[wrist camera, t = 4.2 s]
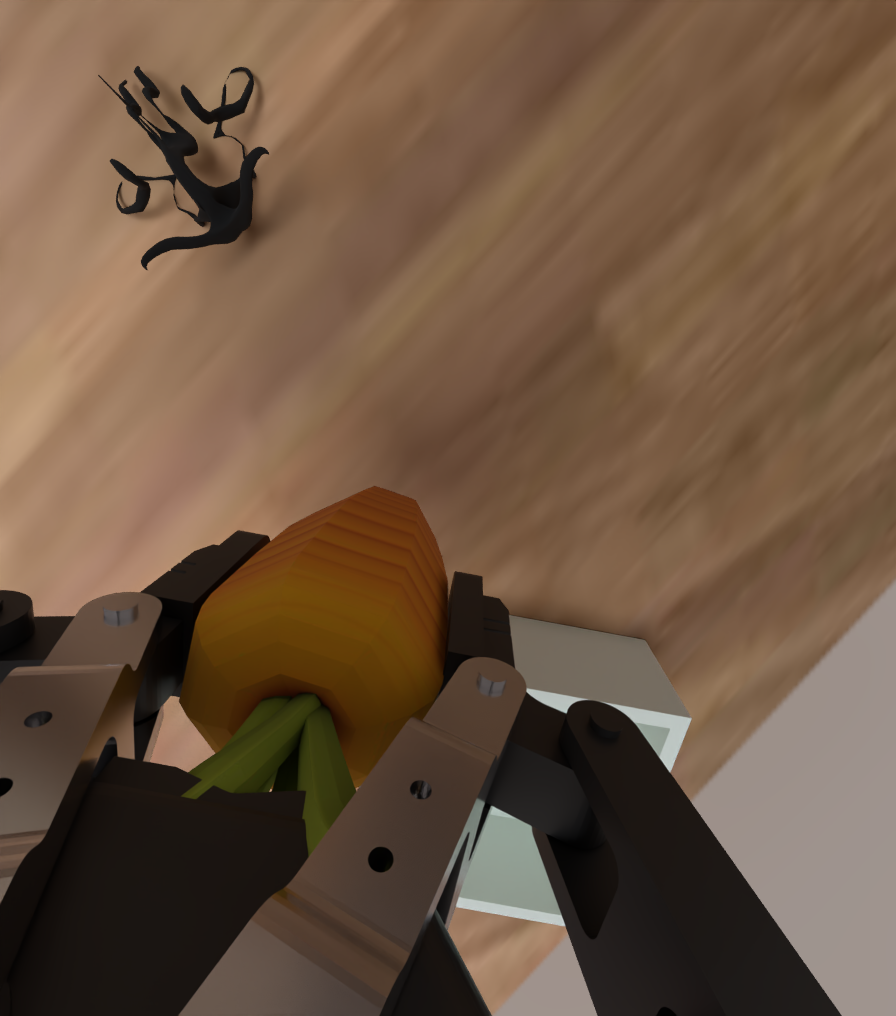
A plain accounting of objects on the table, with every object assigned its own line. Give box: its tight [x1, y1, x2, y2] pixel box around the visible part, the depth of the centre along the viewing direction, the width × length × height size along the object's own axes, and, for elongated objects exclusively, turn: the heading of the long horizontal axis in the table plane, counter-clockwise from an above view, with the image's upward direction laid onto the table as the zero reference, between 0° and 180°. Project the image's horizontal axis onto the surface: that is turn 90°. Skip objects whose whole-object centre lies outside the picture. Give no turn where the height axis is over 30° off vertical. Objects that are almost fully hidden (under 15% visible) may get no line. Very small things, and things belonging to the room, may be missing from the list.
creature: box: [98, 66, 269, 270], centre depth 19 cm, size 8×5×8 cm
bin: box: [456, 615, 692, 926], centre depth 26 cm, size 13×13×6 cm
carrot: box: [179, 486, 448, 856], centre depth 12 cm, size 5×5×15 cm
